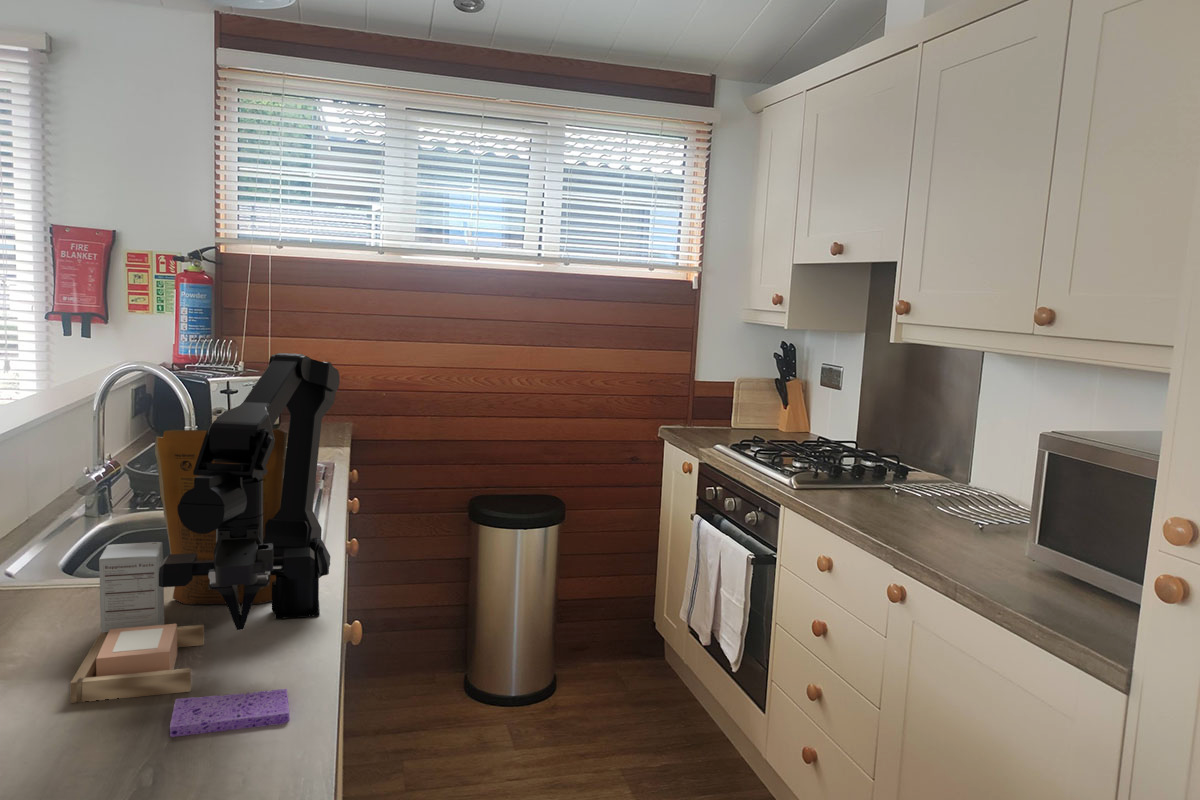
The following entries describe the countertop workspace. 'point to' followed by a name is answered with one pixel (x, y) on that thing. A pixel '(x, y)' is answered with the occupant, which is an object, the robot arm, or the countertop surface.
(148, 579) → the supplement box
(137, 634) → the carton
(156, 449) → the pancake mix bag
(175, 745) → the countertop surface
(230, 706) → the sponges
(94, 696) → the u-shaped wooden frame
